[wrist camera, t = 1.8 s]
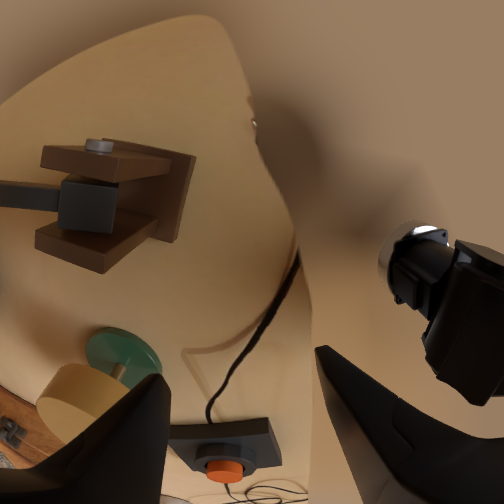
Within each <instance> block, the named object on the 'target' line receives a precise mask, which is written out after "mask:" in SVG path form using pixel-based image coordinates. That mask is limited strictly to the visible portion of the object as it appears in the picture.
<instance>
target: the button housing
mask: <svg viewBox="0 0 504 504" xmlns="http://www.w3.org/2000/svg"><path fill="white" fill-rule="evenodd" d="M168 445H169V446H170V447H171V448H172V449H173V450H174V451H175V453H176V454H177V455H178V456H179V457H180V458H181V459H182V460H183V461H184V462H185V463H186V464H187V465H188V466H189V467H190V468H191V470H192V471H199V472H202V473H204V474H206V473H207V464H208V462H210V461H215V460H226V461H233V462H237V463H239V464H242V466H243V476H242V477H246V476H249V475H252V474H253V473H254V471H255V470H256V469H258V468H267V467H275V466H282V457H281V451H280V448H279V446H278V443H277V441H276V438H275V435H274V432H273V430H272V427H271V424H270V422H269V419H268V418H262V419H255V420H248V421H239V422H230V423H218V424H203V425H170V431H169V438H168Z"/></svg>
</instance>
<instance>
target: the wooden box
mask: <svg viewBox="0 0 504 504" xmlns="http://www.w3.org/2000/svg"><path fill="white" fill-rule="evenodd" d="M65 445H66V444H65V443H64V442H63V441H61V440H60V439H59V438H58V437H57V436H56V435H55V434H54V433H53V432H52V431H51V430H50V429H49V428H48V427H47V426H46V424H45V423H44V422H43V420H42V419H41V417H40V416H39V414H38V411H37V408H36V407H35V406H33V405H32V404H30V403H28V402H26V401H24V400H22V399H21V398H19V397H17V396H15V395H13V394H12V393H10V392H9V391H7V390H6V389H4V388H3V387H1V386H0V466H1V467H2V468H12V469H27V468H31V467H33V466H35V465H37V464H39V463H40V462H42V461H43V460H45V459H46V458H48V457H49V456H51V455H52V454H54V453H55V452H57V451H58V450H59V449H61V448H62V447H64V446H65Z"/></svg>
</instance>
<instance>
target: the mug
mask: <svg viewBox="0 0 504 504" xmlns="http://www.w3.org/2000/svg"><path fill="white" fill-rule="evenodd" d="M160 504H191V503H189V502H187V501H184V500H181V499H178V498H174V497H169V496H164V495H161V496H160Z"/></svg>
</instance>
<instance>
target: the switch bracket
mask: <svg viewBox="0 0 504 504" xmlns="http://www.w3.org/2000/svg"><path fill="white" fill-rule="evenodd" d="M195 161H196V156H192V155H188V154H184V153H179V152H175V151H170V150H165V149H161V148H156V147H151V146H146V145H141V144H135V143H130V142H124V141H118V140H112V139H105V138H103V139H102V140H96V139H87V140H86V144H85V146H57V145H49V146H44V147H43V152H42V158H41V164H40V167H42V168H47V169H52V170H57V171H62V172H66V173H71V174H76V175H80V176H85V177H89V178H94V179H98V180H102V181H107V182H111V183H117V182H119V193H118V198H117V204H116V211H115V217H114V224H113V232H112V234H107V233H97V232H88V231H79V230H69V229H60V228H57V221H56V222H54V223H51V224H49V225H46V226H44V227H42V228H39V229H37V230H35V249H37V250H40V251H42V252H44V253H47V254H49V255H52V256H54V257H57V258H59V259H62V260H64V261H67V262H70V263H72V264H75V265H77V266H80V267H83V268H85V269H88V270H91V271H94V272H96V273H99V274H104V273H106V272H107V271H108V270H109V269H110V268H111V267H113V266H114V265H115V264H116V263H117V262H119V261H120V260H121V259H122V258H123V257H125V256H126V255H127V254H128V253H130V252H131V251H132V250H133V249H134V248H136V247H137V246H138V245H139V244H141V243H142V242H143V241H144V240H146V239H147V238H148V237H151V238H155V239H158V240H162V241H165V242H169V243H173V242H174V241H175V240H176V239H177V235H178V230H179V225H180V221H181V217H182V212H183V208H184V204H185V200H186V196H187V192H188V188H189V184H190V180H191V176H192V172H193V168H194V165H195Z"/></svg>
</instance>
